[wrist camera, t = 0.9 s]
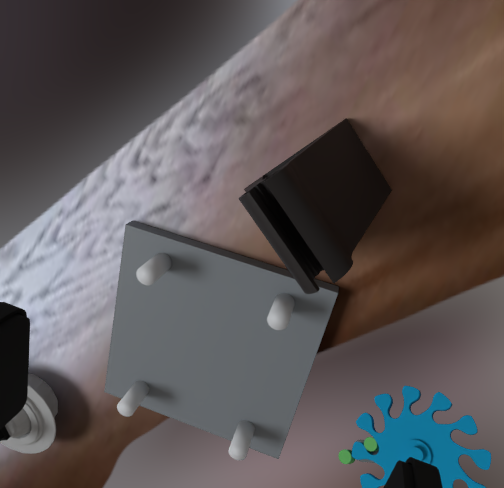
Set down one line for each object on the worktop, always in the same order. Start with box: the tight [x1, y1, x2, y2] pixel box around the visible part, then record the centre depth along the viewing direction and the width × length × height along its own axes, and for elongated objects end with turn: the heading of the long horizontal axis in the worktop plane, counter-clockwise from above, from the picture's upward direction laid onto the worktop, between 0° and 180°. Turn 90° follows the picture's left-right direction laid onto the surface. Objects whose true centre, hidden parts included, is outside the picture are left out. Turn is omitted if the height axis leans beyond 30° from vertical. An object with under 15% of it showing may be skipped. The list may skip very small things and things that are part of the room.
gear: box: [339, 386, 491, 488], centre depth 34 cm, size 11×6×10 cm
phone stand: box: [239, 119, 392, 294], centre depth 25 cm, size 9×6×12 cm, turn 126°
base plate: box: [104, 221, 339, 460], centre depth 36 cm, size 18×18×4 cm
